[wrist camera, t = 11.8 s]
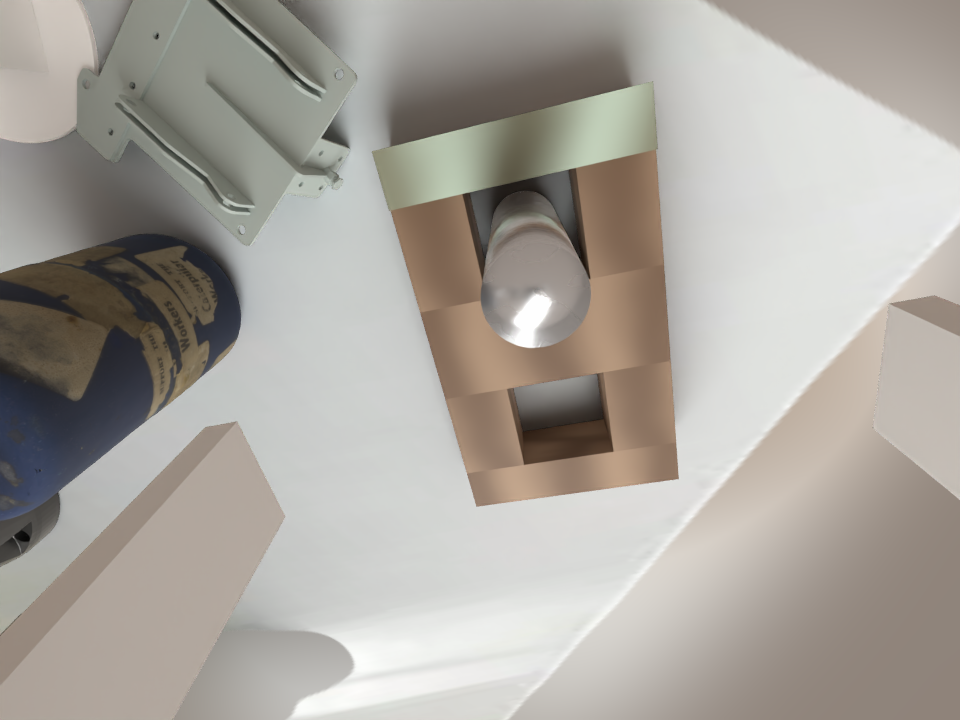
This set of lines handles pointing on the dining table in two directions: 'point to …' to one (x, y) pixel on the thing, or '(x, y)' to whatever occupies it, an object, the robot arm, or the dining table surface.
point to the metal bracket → (221, 104)
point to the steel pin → (532, 274)
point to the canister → (100, 353)
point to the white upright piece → (42, 67)
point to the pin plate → (611, 315)
